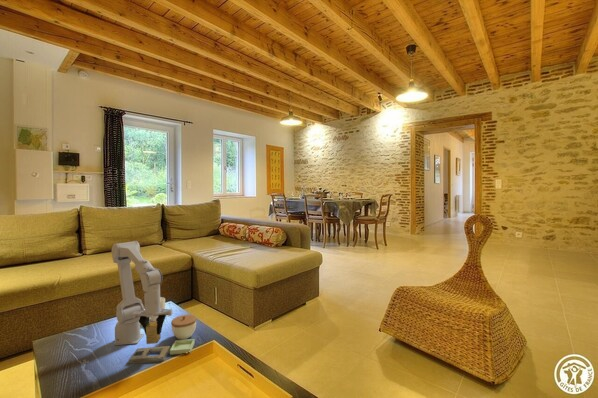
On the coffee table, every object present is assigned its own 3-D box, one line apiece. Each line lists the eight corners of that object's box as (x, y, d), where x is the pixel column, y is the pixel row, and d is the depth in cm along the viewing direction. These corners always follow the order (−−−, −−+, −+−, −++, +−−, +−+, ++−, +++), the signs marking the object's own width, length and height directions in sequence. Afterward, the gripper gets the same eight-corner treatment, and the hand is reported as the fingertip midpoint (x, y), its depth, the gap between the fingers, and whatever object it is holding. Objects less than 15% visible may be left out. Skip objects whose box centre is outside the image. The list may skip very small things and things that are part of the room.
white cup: (154, 323, 147) (153, 304, 147) (145, 320, 151) (145, 301, 151) (168, 317, 154) (168, 299, 153) (160, 314, 158) (159, 296, 158)
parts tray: (169, 354, 119) (169, 350, 119) (175, 344, 127) (175, 340, 127) (190, 353, 120) (190, 348, 120) (194, 343, 128) (194, 338, 128)
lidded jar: (180, 344, 127) (179, 323, 126) (167, 337, 133) (166, 317, 133) (201, 334, 135) (201, 314, 135) (188, 328, 142) (187, 309, 141)
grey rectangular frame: (128, 363, 113) (128, 359, 113) (137, 352, 121) (137, 348, 121) (163, 360, 115) (163, 356, 115) (170, 349, 123) (170, 345, 123)
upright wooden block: (146, 344, 116) (145, 326, 115) (150, 338, 120) (149, 322, 119) (157, 343, 116) (156, 326, 116) (160, 338, 120) (160, 321, 120)
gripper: (128, 305, 113) (130, 340, 113) (168, 303, 114) (169, 337, 115) (136, 298, 120) (137, 331, 120) (173, 296, 121) (174, 328, 122)
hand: (153, 333), depth 118 cm, fingers closed on upright wooden block, 4 cm apart
